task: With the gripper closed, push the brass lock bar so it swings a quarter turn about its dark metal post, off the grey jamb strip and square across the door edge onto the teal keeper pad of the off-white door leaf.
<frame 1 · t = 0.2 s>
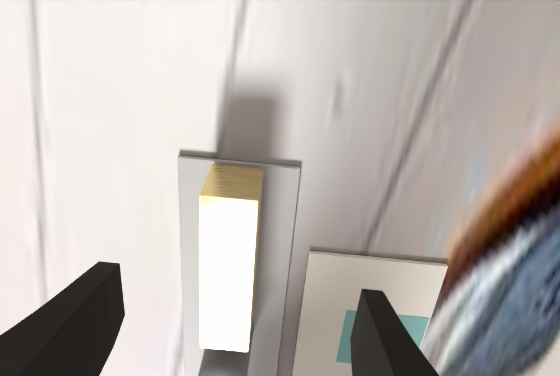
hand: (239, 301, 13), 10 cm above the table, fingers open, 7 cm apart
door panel: (232, 323, 28), on the table
lock bar: (230, 261, 23), point 2 cm above the table, hinge at 0.0°
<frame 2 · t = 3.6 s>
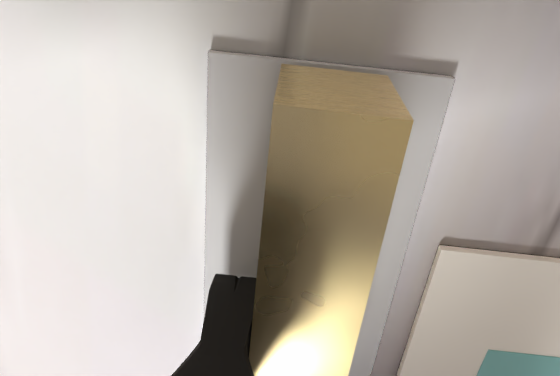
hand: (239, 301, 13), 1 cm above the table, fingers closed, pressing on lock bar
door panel: (286, 366, 16), on the table
lock bar: (309, 264, 12), point 2 cm above the table, hinge at 0.3°, touching gripper
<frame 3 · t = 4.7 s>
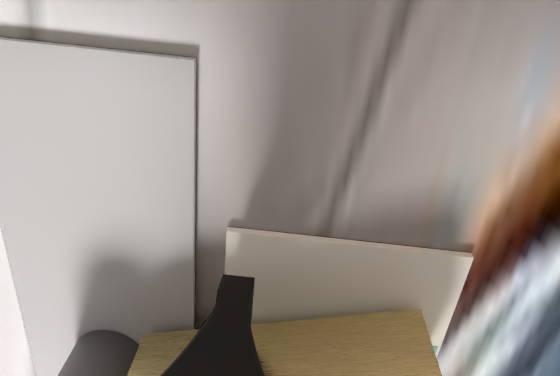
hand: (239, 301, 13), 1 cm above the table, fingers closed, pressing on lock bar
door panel: (113, 350, 17), on the table
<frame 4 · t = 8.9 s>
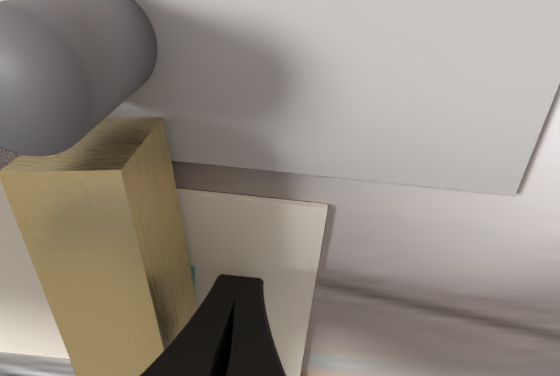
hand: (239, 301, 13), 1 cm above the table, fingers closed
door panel: (107, 40, 11), on the table
lock bar: (132, 296, 12), point 2 cm above the table, hinge at 82.1°, touching gripper
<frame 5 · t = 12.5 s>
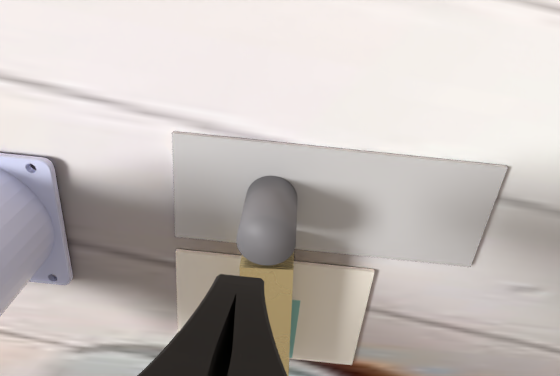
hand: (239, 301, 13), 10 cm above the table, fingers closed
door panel: (272, 195, 23), on the table
lock bar: (267, 318, 24), point 2 cm above the table, hinge at 86.3°
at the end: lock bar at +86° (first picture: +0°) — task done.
